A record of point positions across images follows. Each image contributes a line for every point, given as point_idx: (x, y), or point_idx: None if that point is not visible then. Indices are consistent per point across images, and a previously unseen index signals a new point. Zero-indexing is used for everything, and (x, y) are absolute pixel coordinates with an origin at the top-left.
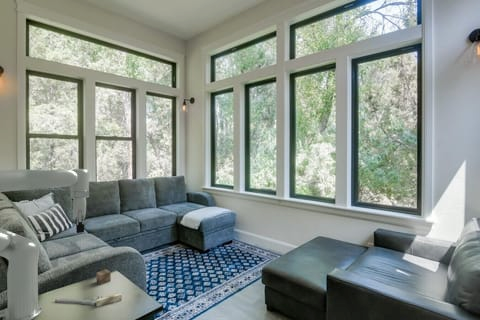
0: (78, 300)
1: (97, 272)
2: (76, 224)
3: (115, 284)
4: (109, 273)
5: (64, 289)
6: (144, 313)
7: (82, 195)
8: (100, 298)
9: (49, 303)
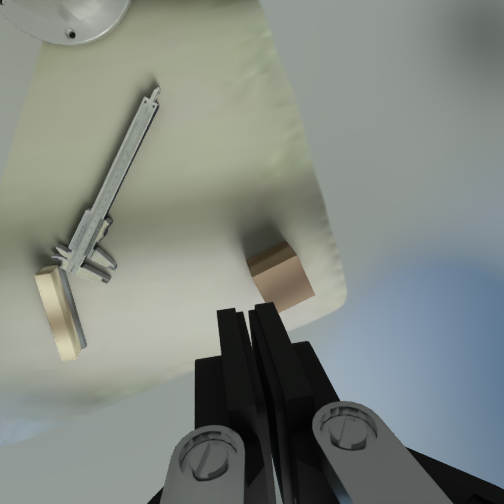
0: (106, 193)
1: (297, 259)
2: (287, 399)
3: None
4: None
5: (273, 109)
6: None
7: None
8: (91, 278)
9: (149, 63)
